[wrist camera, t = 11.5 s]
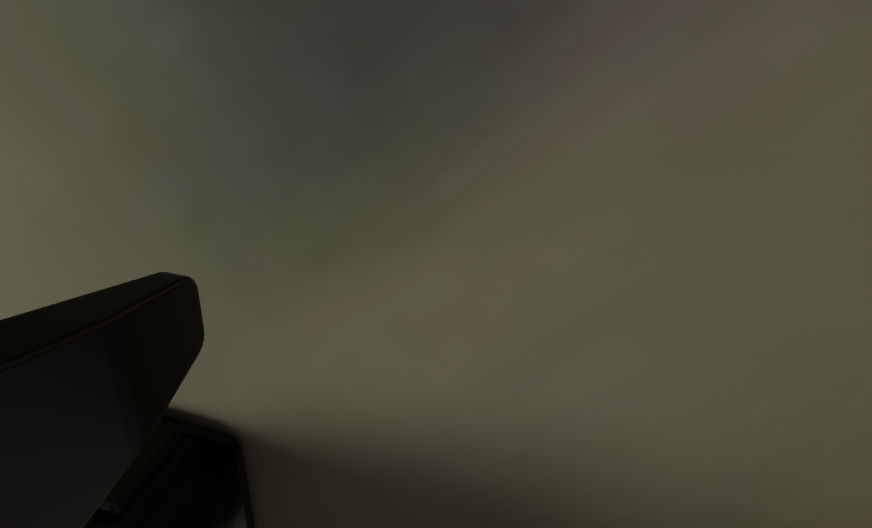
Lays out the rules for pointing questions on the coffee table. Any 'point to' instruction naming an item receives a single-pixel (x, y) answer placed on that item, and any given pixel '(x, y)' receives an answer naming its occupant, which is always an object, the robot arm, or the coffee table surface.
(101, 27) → the coffee table surface
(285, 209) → the coffee table surface
